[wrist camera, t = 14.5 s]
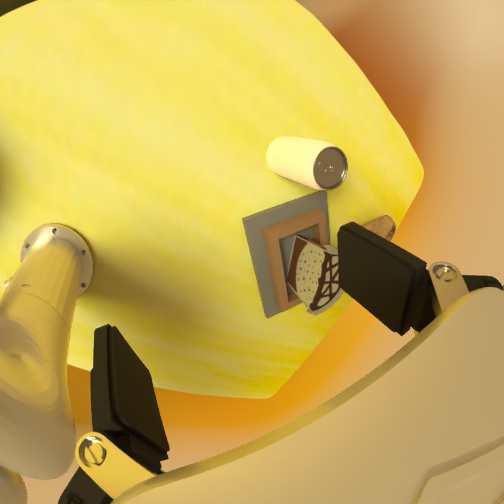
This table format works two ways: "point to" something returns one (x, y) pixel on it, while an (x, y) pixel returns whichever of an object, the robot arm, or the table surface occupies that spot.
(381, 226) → the oil lamp
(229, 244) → the table surface
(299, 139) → the can
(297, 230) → the tray
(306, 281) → the food container
